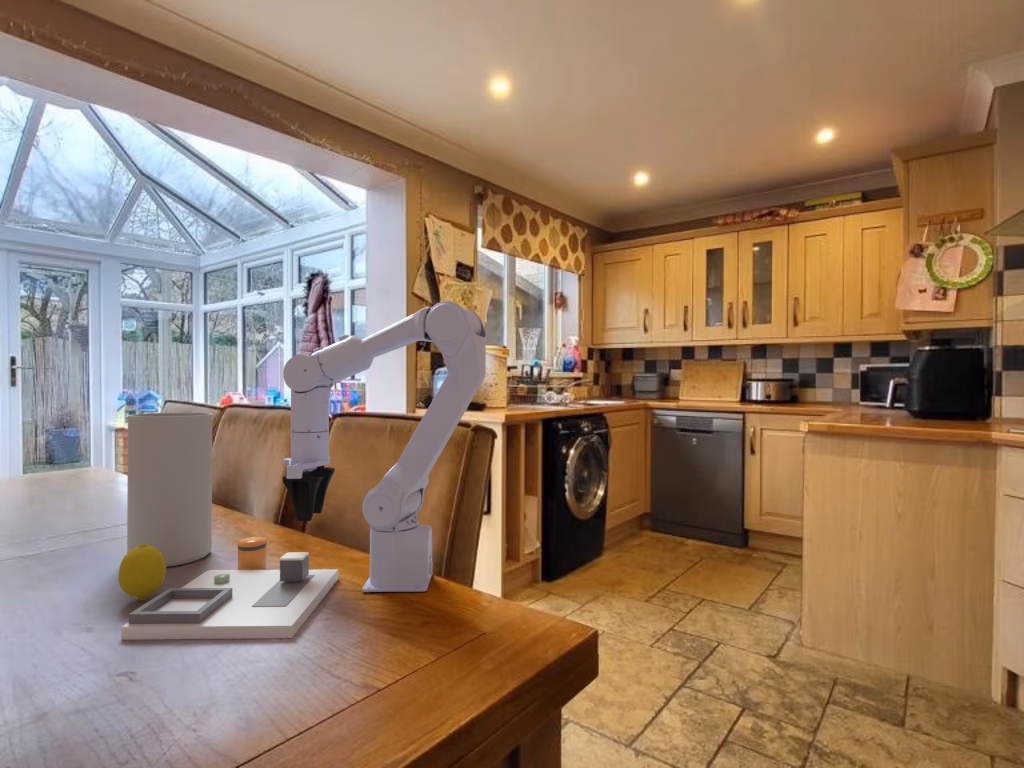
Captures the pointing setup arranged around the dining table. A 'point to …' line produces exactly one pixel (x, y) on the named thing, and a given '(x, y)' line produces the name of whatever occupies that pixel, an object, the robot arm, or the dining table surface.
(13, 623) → the dining table surface
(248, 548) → the cap
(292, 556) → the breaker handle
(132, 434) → the cylinder vase
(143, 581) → the lemon
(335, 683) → the dining table surface
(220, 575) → the board
